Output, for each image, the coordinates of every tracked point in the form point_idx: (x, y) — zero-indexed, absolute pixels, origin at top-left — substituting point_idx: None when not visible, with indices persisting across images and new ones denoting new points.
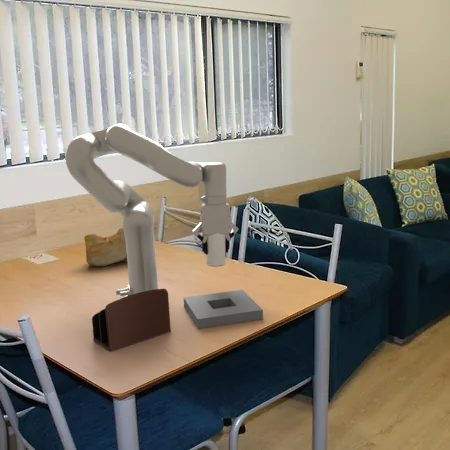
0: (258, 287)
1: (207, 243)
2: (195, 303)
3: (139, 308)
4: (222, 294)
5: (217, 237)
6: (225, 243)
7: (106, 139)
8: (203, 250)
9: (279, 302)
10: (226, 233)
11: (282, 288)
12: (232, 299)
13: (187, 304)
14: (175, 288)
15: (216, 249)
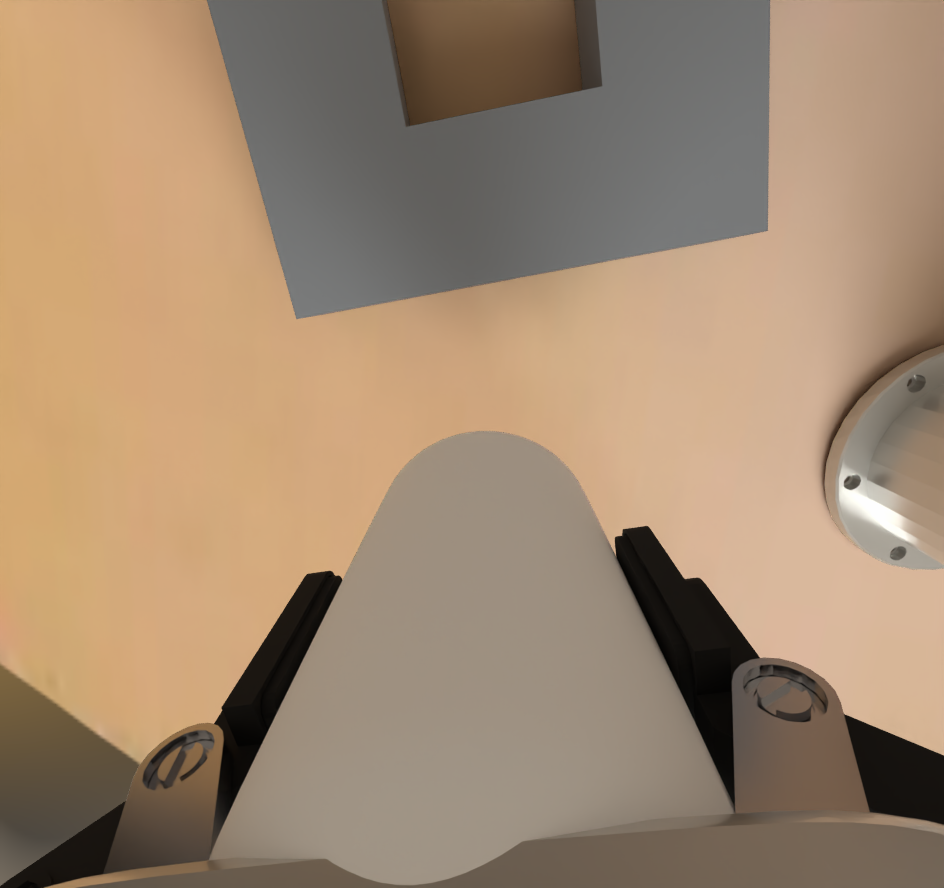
0: (213, 499)
1: (678, 650)
2: (704, 40)
3: None
4: (458, 234)
5: (449, 698)
6: None
7: None
8: (697, 580)
9: (58, 166)
10: (94, 881)
11: (56, 449)
12: (386, 78)
13: (764, 62)
14: (718, 584)
15: (488, 514)
